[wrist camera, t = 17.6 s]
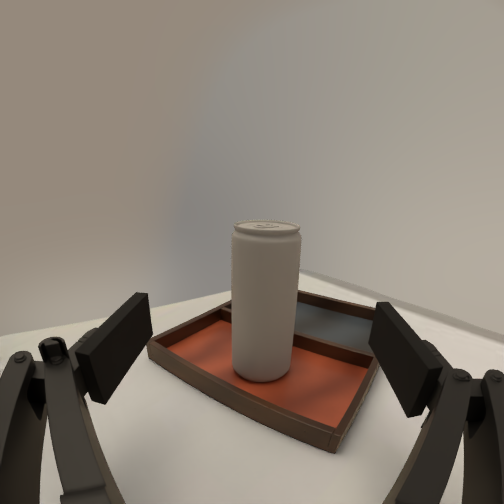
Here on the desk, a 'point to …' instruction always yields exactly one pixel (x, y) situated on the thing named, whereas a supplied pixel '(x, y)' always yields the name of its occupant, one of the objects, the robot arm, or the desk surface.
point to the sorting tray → (294, 380)
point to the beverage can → (264, 297)
